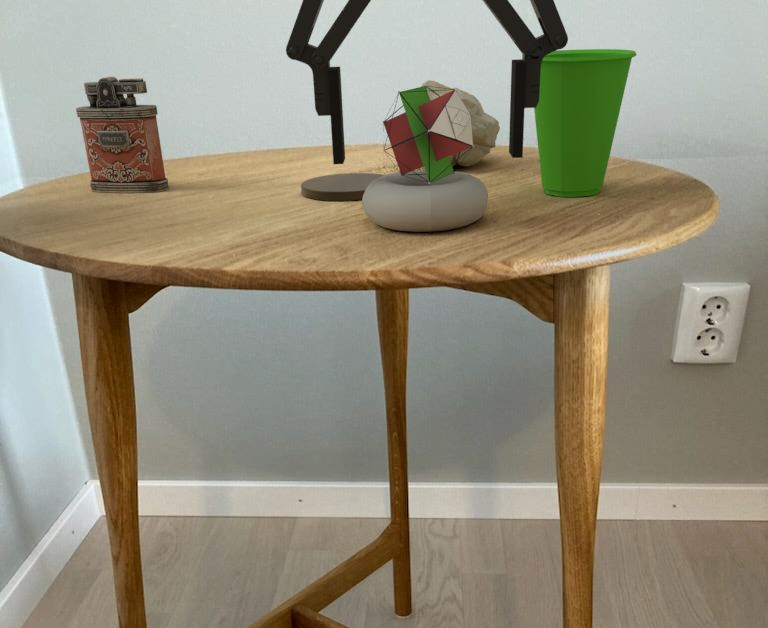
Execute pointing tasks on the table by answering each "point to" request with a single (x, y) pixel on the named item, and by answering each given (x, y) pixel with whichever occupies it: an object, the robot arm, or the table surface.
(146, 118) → the lighter
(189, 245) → the table surface
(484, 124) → the beige lumpy stone
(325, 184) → the walnut coaster
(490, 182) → the table surface
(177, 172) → the table surface
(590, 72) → the cup
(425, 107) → the geometric puzzle
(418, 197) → the donut
